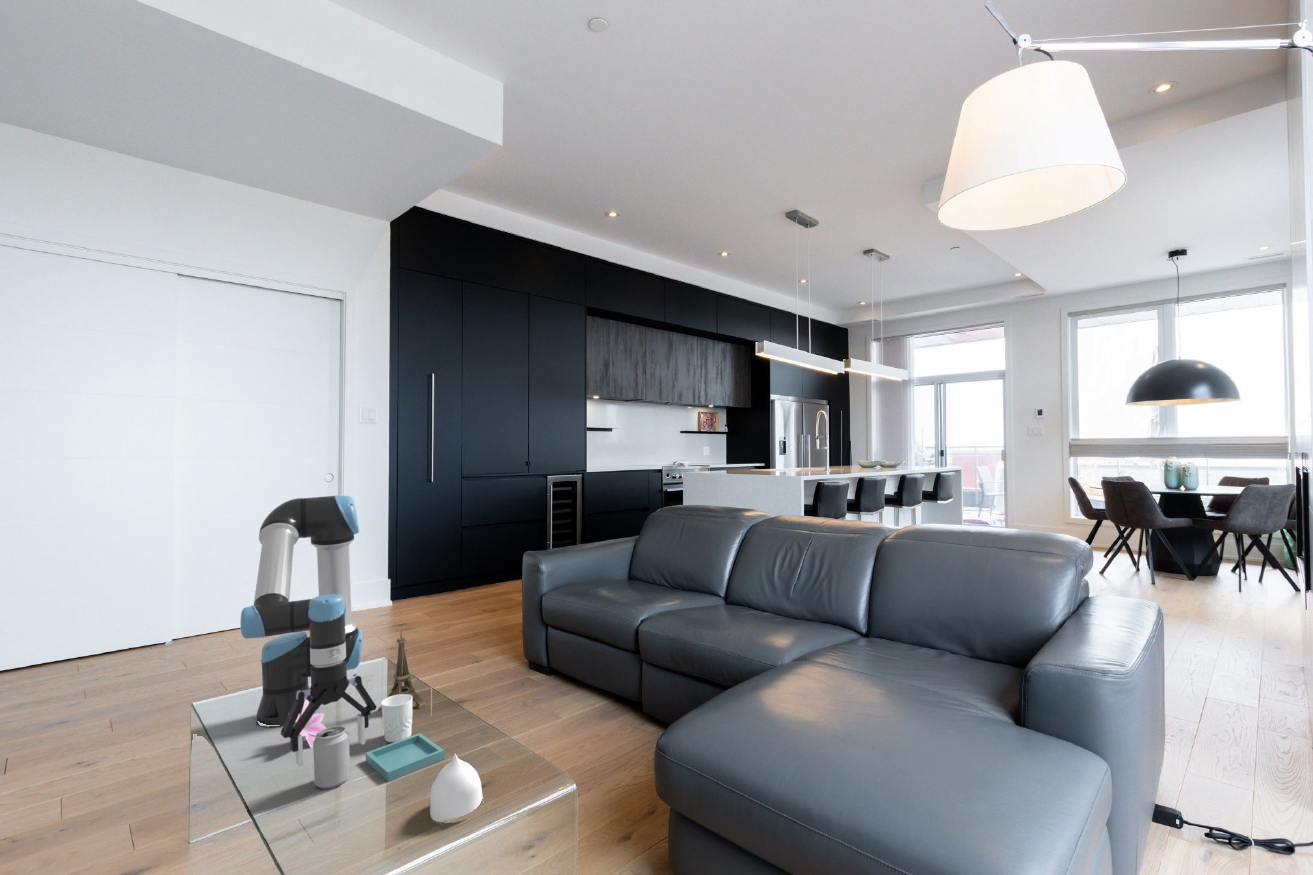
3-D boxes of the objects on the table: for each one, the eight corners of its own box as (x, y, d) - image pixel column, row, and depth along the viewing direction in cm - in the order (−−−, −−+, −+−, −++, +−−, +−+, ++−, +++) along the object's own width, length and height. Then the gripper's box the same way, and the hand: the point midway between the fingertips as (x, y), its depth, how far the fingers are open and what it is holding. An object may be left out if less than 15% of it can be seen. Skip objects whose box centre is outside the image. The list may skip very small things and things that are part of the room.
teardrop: (481, 819, 131) (479, 762, 131) (426, 828, 129) (423, 770, 129) (484, 790, 142) (482, 737, 142) (433, 798, 140) (431, 744, 140)
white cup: (402, 744, 165) (401, 706, 165) (376, 743, 167) (374, 705, 167) (419, 731, 173) (418, 694, 173) (394, 729, 174) (392, 693, 174)
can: (323, 774, 151) (321, 725, 151) (355, 772, 152) (353, 722, 152) (308, 792, 144) (306, 739, 144) (342, 789, 144) (340, 737, 144)
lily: (283, 762, 160) (301, 728, 161) (267, 732, 167) (284, 700, 167) (327, 756, 170) (344, 724, 170) (310, 728, 177) (326, 698, 177)
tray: (365, 761, 157) (365, 752, 157) (420, 740, 167) (420, 733, 167) (388, 781, 147) (387, 772, 147) (444, 758, 157) (444, 750, 157)
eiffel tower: (412, 697, 196) (410, 617, 196) (428, 706, 189) (425, 623, 189) (378, 708, 189) (375, 625, 189) (393, 718, 181) (390, 632, 181)
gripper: (272, 681, 136) (275, 779, 136) (388, 652, 154) (391, 738, 154) (263, 673, 142) (266, 768, 141) (376, 646, 159) (379, 730, 159)
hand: (331, 753), depth 148 cm, fingers open, 13 cm apart
